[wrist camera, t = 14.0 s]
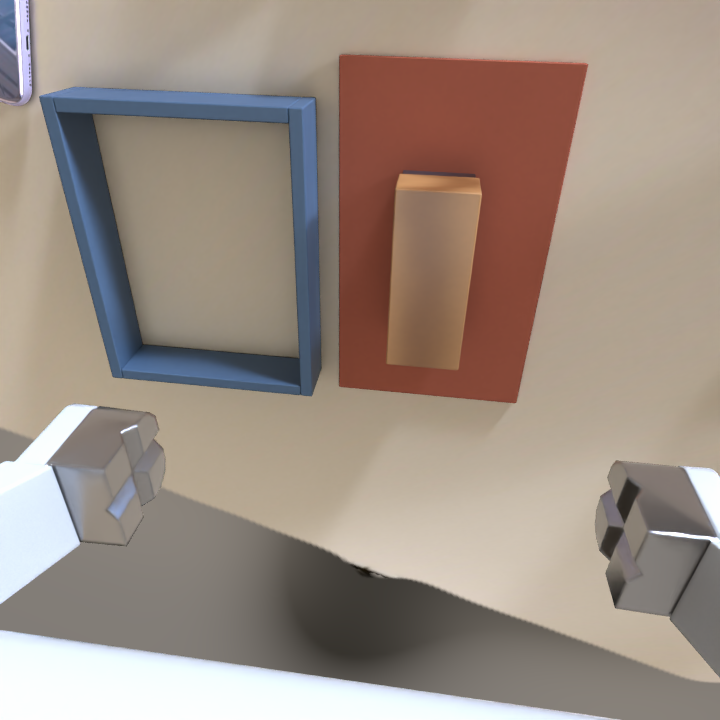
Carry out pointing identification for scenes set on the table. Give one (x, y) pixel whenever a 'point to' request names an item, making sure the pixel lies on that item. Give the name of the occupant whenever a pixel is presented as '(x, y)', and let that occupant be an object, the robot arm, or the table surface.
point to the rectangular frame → (104, 254)
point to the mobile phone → (15, 52)
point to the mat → (497, 210)
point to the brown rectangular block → (431, 267)
